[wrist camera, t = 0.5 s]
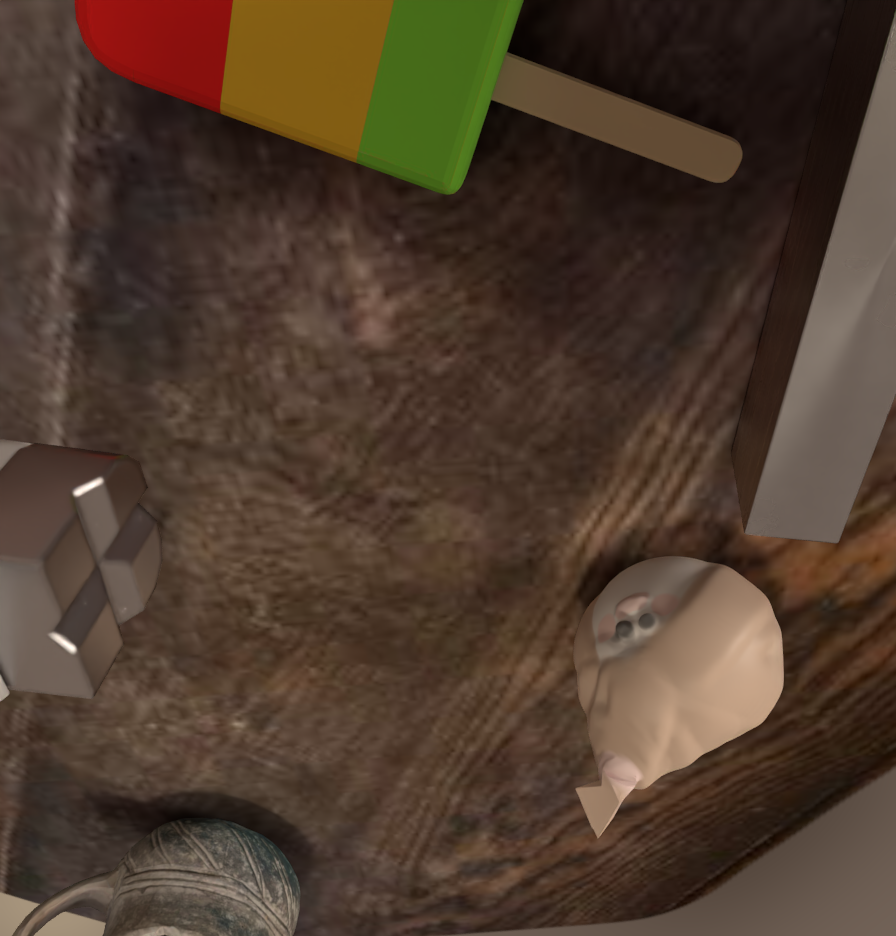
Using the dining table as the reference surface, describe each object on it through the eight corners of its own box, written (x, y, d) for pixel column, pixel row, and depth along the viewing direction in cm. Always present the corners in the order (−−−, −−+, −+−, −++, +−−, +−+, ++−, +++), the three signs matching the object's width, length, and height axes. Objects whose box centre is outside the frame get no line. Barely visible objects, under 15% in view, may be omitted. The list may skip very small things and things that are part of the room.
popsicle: (111, -239, 17) (64, -239, 16) (797, 28, 18) (814, 51, 17) (102, 45, 21) (63, 66, 19) (678, 254, 22) (683, 289, 20)
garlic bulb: (563, 525, 28) (548, 736, 22) (770, 512, 26) (816, 736, 20) (588, 655, 32) (581, 866, 26) (770, 651, 30) (808, 875, 24)
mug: (311, 897, 49) (253, 1109, 41) (97, 846, 49) (-1, 1047, 41) (324, 814, 42) (259, 1045, 35) (79, 755, 43) (-40, 973, 35)
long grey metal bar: (911, -256, 15) (974, -261, 13) (1056, -257, 15) (1152, -263, 12) (730, 454, 25) (743, 535, 23) (814, 461, 25) (838, 544, 22)
